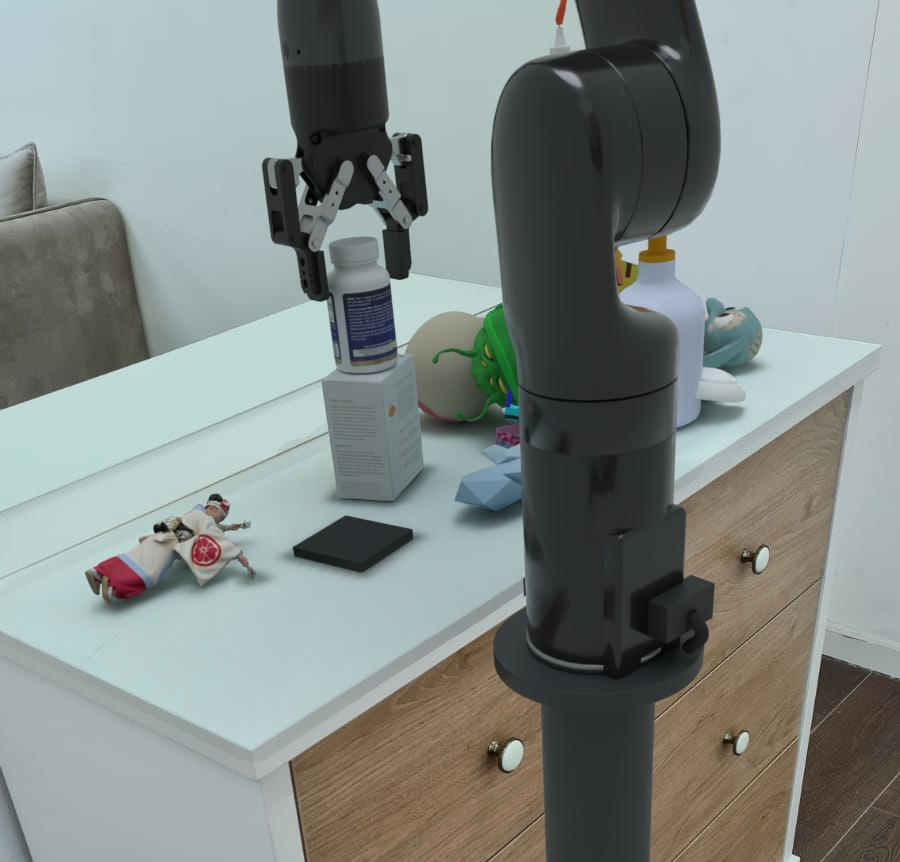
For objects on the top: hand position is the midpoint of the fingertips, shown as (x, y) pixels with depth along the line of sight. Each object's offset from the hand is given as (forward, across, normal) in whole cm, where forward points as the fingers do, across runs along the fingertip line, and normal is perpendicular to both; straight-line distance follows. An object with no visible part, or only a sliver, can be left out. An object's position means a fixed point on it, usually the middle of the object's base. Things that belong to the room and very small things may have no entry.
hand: (359, 288), depth 96 cm
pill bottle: (+6, 0, 0) cm, 6 cm away
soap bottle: (+17, +28, -8) cm, 33 cm away
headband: (+18, +16, -6) cm, 25 cm away
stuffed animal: (+17, +44, -2) cm, 47 cm away
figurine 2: (+12, +16, +2) cm, 20 cm away
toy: (+8, +31, +6) cm, 33 cm away
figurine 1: (+17, -22, -4) cm, 28 cm away
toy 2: (+8, +16, +4) cm, 19 cm away
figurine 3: (+12, +9, -6) cm, 16 cm away
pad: (+17, -10, -9) cm, 21 cm away
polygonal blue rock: (+17, +5, -13) cm, 21 cm away
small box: (+17, 0, 0) cm, 17 cm away
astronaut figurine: (+16, +34, -3) cm, 38 cm away
